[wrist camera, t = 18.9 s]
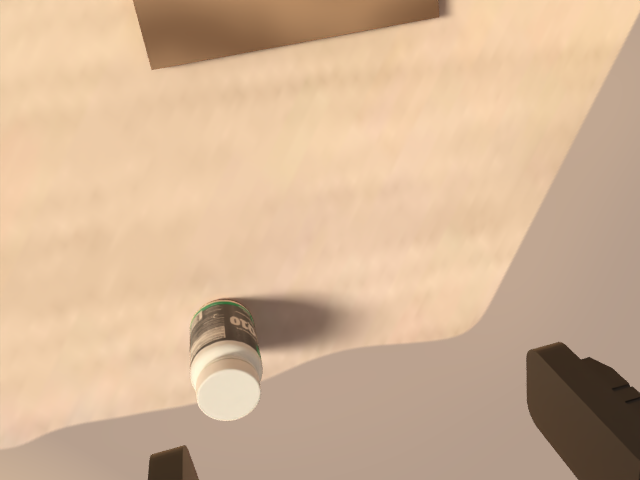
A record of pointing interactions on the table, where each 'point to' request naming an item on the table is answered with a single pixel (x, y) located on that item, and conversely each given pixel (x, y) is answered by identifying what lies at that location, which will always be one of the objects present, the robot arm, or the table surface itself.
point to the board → (260, 24)
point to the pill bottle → (225, 360)
